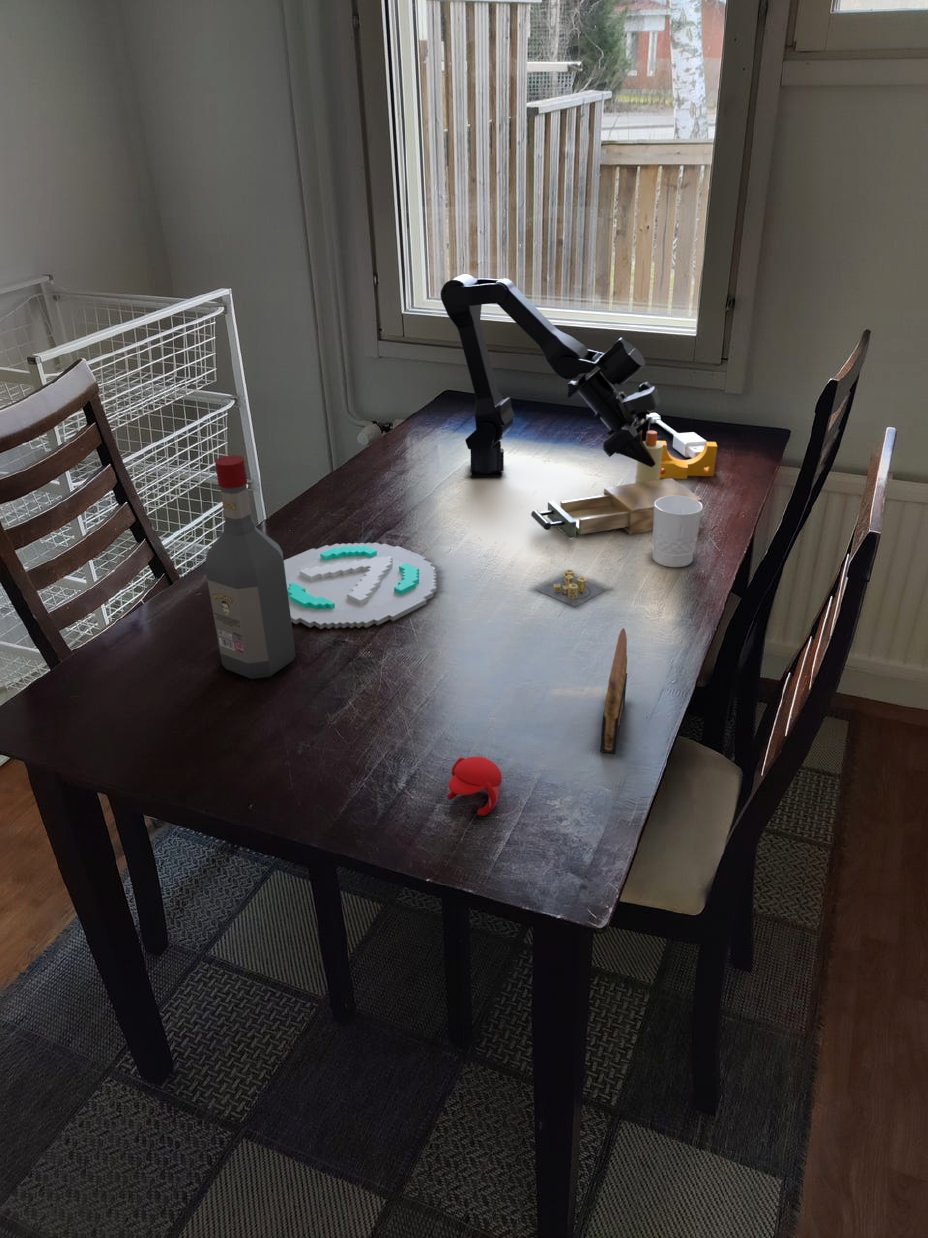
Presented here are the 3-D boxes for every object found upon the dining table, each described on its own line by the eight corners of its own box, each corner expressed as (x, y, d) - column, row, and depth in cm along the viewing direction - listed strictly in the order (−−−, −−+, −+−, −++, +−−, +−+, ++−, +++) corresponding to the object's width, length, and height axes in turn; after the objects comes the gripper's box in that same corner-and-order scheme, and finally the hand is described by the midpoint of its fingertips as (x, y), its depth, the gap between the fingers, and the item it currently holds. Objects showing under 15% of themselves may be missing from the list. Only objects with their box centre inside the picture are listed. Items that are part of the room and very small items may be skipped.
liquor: (261, 685, 126) (229, 478, 111) (213, 666, 130) (176, 465, 115) (305, 654, 132) (281, 455, 117) (258, 637, 137) (229, 443, 122)
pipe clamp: (654, 477, 189) (657, 447, 186) (653, 470, 193) (656, 440, 190) (714, 479, 188) (718, 449, 185) (711, 471, 192) (715, 441, 188)
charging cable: (658, 420, 224) (659, 407, 222) (714, 461, 195) (716, 446, 194) (638, 422, 223) (639, 408, 221) (692, 463, 195) (693, 448, 193)
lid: (471, 580, 151) (471, 571, 150) (340, 648, 134) (339, 638, 133) (358, 533, 168) (357, 525, 167) (229, 587, 150) (227, 579, 149)
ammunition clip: (610, 702, 121) (616, 623, 115) (624, 704, 121) (631, 625, 114) (600, 752, 112) (606, 669, 106) (615, 754, 112) (622, 671, 106)
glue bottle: (646, 489, 179) (651, 437, 173) (630, 482, 182) (634, 431, 177) (663, 484, 181) (669, 433, 175) (647, 477, 184) (652, 426, 179)
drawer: (548, 542, 162) (548, 525, 160) (526, 520, 170) (527, 504, 168) (636, 527, 166) (638, 511, 165) (611, 507, 174) (613, 491, 173)
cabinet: (630, 534, 166) (632, 510, 163) (602, 510, 175) (604, 487, 173) (699, 522, 170) (702, 499, 167) (668, 500, 179) (671, 477, 176)
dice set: (568, 578, 151) (568, 568, 150) (592, 589, 148) (593, 578, 147) (548, 589, 148) (548, 578, 147) (572, 600, 145) (573, 589, 144)
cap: (457, 777, 108) (456, 736, 105) (507, 785, 107) (507, 744, 104) (438, 823, 102) (437, 781, 99) (491, 832, 100) (491, 789, 97)
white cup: (700, 553, 159) (707, 499, 154) (690, 572, 152) (696, 517, 147) (655, 545, 161) (660, 492, 156) (643, 564, 155) (648, 509, 150)
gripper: (625, 386, 164) (680, 452, 166) (646, 360, 179) (697, 421, 181) (580, 424, 171) (633, 487, 173) (604, 396, 186) (653, 454, 188)
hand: (656, 461), depth 179 cm, fingers closed on glue bottle, 4 cm apart
